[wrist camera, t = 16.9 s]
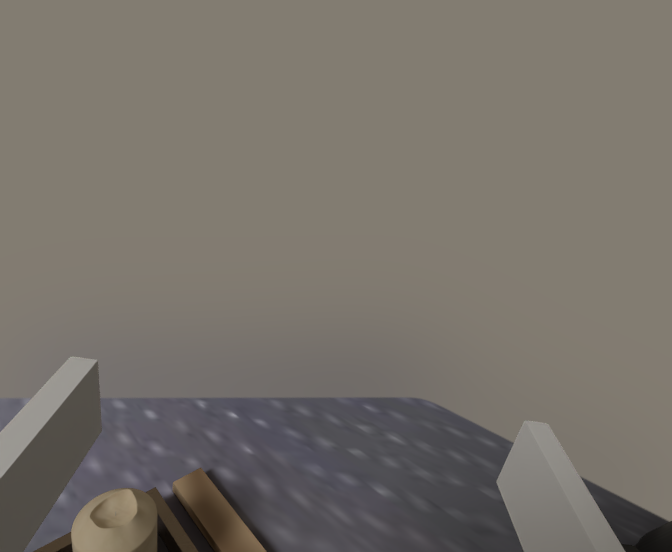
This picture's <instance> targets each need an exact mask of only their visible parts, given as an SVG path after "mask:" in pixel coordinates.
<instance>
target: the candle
mask: <svg viewBox="0 0 672 552" xmlns="http://www.w3.org/2000/svg"><path fill="white" fill-rule="evenodd" d="M71 539H72V548H73V552H157V507H156V504H155V502H154V500H153V499H152V498H151V497H150V496H149V495H148V494H147V493H145V492H143V491H141V490H138V489H133V488H121V489H115V490H111V491H108V492H105V493H103V494H101V495H99V496H97V497H96V498H94V499H93V500H91V501H90V502H89V503H87V504H86V505H85V506H84V507H83V508H82V510H81V511H80V512H79V513H78V515H77V517H76V518H75V520H74V523H73V526H72V530H71Z"/></svg>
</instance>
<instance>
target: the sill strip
mask: <svg viewBox="0 0 672 552" xmlns="http://www.w3.org/2000/svg"><path fill="white" fill-rule="evenodd" d="M173 492H174V494H175V495H176V496H177V498H178V499H179V501H180V502H181V504H182V505H183V507H184V508H185V509H186V511H187V512H188V514H189V515H190V517H191V518H192V520H193V521H194V522H195V524H196V525H197V527H198V528H199V530H200V531H201V532H202V534H203V535H204V537H205V538H206V540H207V541H208V543H209V544H210V545H211V547H212V548H213V550H214V551H215V552H266V550H265V549H264V548H263V546H262V545H261V544H260V543H259V541H258V540H257V539H256V538H255V536H254V535H253V534H252V532H251V531H250V530H249V529H248V527H247V526H246V525H245V523H244V522H243V521H242V520H241V518H240V517H239V516H238V515H237V513H236V512H235V511H234V509H233V508H232V507H231V506H230V504H229V503H228V502H227V500H226V499H225V498H224V497H223V495H222V494H221V493H220V492H219V490H218V489H217V488H216V486H215V485H214V484H213V483H212V481H211V480H210V479H209V477H208V476H207V475H206V474H205V472H204V471H203V470H202V469H201V468H199V469H197V470H196V471H194V472H192V473H190V474H188V475H186V476H184V477H182V478H181V479H179V480H177V481H175V482H173Z"/></svg>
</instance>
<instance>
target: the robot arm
mask: <svg viewBox="0 0 672 552" xmlns="http://www.w3.org/2000/svg"><path fill="white" fill-rule="evenodd" d="M98 373H99V372H98V360H93V359H86V358H79V357H72V356H71V357H70V358H69V359H68V360H67V361H66V362H65V363H64V364H63V365H62V366H61V368H60V369H59V370H58V371H57V372H56V373H55V374H54V375H53V376H52V377H51V378H50V379H49V381H48V382H47V383H46V384H45V385H44V386H43V387H42V388H41V389H40V390H39V391H38V392H37V393H36V394H35V396H34V397H33V398H32V399H31V400H30V401H29V402H28V403H27V404H26V405H25V406H24V407H23V408H22V410H21V411H20V412H19V413H18V414H17V415H16V416H15V417H14V418H13V419H12V420H11V421H10V422H9V424H8V425H7V426H6V427H5V428H4V429H3V430H2V431H1V432H0V552H23V551H24V550H25V548H26V547H27V545H28V544H29V542H30V541H31V539H32V537H33V536H34V534H35V533H36V531H37V530H38V528H39V527H40V525H41V524H42V522H43V521H44V519H45V517H46V516H47V514H48V513H49V511H50V510H51V508H52V507H53V505H54V504H55V502H56V501H57V499H58V497H59V496H60V494H61V493H62V491H63V490H64V488H65V487H66V485H67V484H68V482H69V480H70V479H71V477H72V476H73V474H74V473H75V471H76V470H77V468H78V467H79V465H80V464H81V462H82V460H83V459H84V457H85V456H86V454H87V453H88V451H89V450H90V448H91V447H92V445H93V444H94V442H95V440H96V439H97V437H98V436H99V434H100V433H101V431H102V426H101V408H100V391H99V374H98ZM496 482H497V485H498V487H499V490H500V492H501V495H502V497H503V500H504V503H505V505H506V508H507V510H508V513H509V515H510V518H511V520H512V523H513V525H514V528H515V530H516V533H517V535H518V538H519V541H520V543H521V546H522V548H523V551H524V552H672V521H671V522H669V523H667V524H665V525H663V526H661V527H659V528H656V529H654V530H652V531H650V532H648V533H647V534H645V535H644V536H643V537H642V538H641V539H640V540H639V542H638V543H637V544H636V546H632V545H624V544H621V543H620V542H619V540H618V539H617V537H616V535H615V534H614V532H613V530H612V529H611V527H610V525H609V524H608V522H607V520H606V519H605V517H604V515H603V514H602V512H601V510H600V509H599V507H598V506H597V504H596V502H595V501H594V499H593V497H592V496H591V494H590V492H589V491H588V489H587V487H586V486H585V484H584V482H583V481H582V479H581V477H580V476H579V474H578V473H577V471H576V469H575V468H574V466H573V464H572V463H571V461H570V459H569V458H568V456H567V454H566V453H565V451H564V449H563V448H562V447H561V445H560V443H559V441H558V440H557V438H556V436H555V435H554V433H553V431H552V430H551V428H550V426H549V425H548V424H547V423H541V422H534V421H527V420H525V421H524V423H523V425H522V427H521V429H520V431H519V434H518V436H517V438H516V440H515V442H514V444H513V447H512V449H511V451H510V453H509V455H508V457H507V460H506V462H505V464H504V466H503V468H502V470H501V473H500V475H499V477H498V479H497V481H496Z"/></svg>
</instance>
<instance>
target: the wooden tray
mask: <svg viewBox="0 0 672 552" xmlns="http://www.w3.org/2000/svg"><path fill="white" fill-rule="evenodd" d="M146 493H147V494H148V495H149V496H150V497H151V498H152V499H153V500H154V502H155V504H156V507H157V532H158V534H159V535H160V537H161V538H162V540H163V542H164V543H165V545H166V547H167V548H168V550H169V551H170V552H198V550H197V549H196V547H195V546H194V544H193V543H192V541H191V540H190V538H189V537H188V535H187V534H186V532H185V531H184V529H183V528H182V526H181V525H180V523H179V522H178V520H177V519H176V517H175V516H174V514H173V513H172V511H171V510H170V508H169V507H168V505H167V504H166V502H165V501H164V499H163V498H162V496H161V495H160V493H159V492H158V490H157V489H156V487H155V488H153V489H151V490H149V491H147V492H146ZM34 552H73V548H72V539H71V532H70V533H68V534H66V535H64V536H62V537H60V538H58V539H56V540H54V541H53V542H51V543H49V544H47V545H45V546H43V547H41V548H39V549H37V550H36V551H34Z"/></svg>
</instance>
